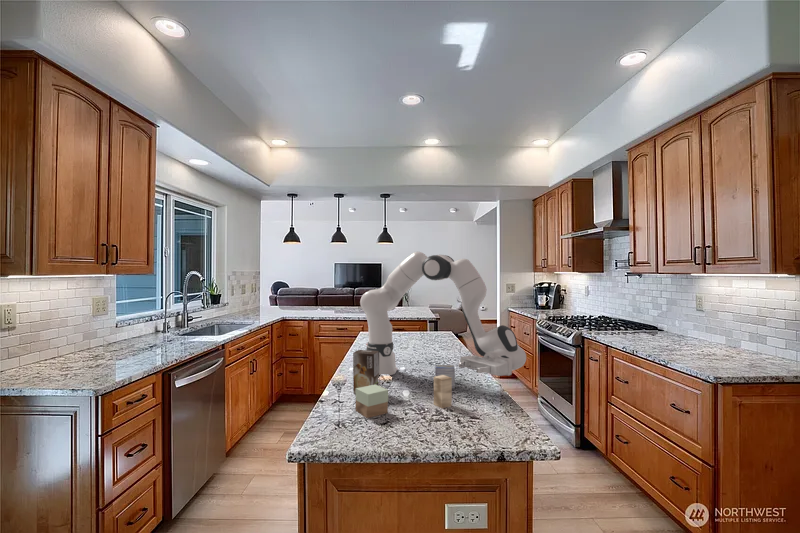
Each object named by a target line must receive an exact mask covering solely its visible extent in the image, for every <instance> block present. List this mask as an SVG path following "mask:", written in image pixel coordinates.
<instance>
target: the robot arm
mask: <svg viewBox="0 0 800 533" xmlns="http://www.w3.org/2000/svg"><path fill="white" fill-rule="evenodd" d="M423 276H425V277H426V278H427V279H428V280H431V281H441V280H442V281H443V280H445V279H449V280H451V281H452V282H453V283H454V285H455V286H456V289H457V290H458V293H459V295H460V298H461V305H460V306H461V310H462V314H463V316H464V318H465V322H466V324H467V326H468V329H469V332H470V334H471V337H472V339H473V344H474V348H475V351H476V352H477V353H478V355H466V356H465V355H464V356H460V358H459V360H460V361H459V362H458V364H457V366H458V368H460V369H465V368H467V369H470V370H475V372H476V373H478V374H484V373H485V374H489V375H492V376H493V375H494V376H497V377H502V376H512V374H513V373H512V371H515V370H518V369H521V368H522V367H524V365H525V363H526V362H527V353H526V352H525V350H524V348H522V347H520V345H519V344H518V342H517V341H518V340H517V337H516V334H515V333H514V331H513V330H512V329H511V328H510V327H509V326H507V325H498V326H497V327H495V328H492V329H490V330H489V331H486V330H485V328H484V326H483V324H482V321H481V318H480V317H479V308H480V306H481V305H482V302H483V301H484V300H485V297H486V296H487V295H486V294H487V286H486V284H485V282H484V280H483V278H482V276H481V275H480V273H479V272H478V270H477V269H476V267H475V266H474V265H473V263H472V262H471V261H470V260H469V259H467V258H459V259H457V260H454V259H453V258H452V257H451V256H449V255H446V254H433V255H432V254H431V255H429V256H427V255H426V254H425V253H423V252H422V251H414V252H412V253H411V254H410V255H409V256H407V257H405V259H404V260H402V262H401V261H400V263H399V264H398V265H397V266H396V267H395V268H394V269H393V271H391V273H390V274H388V276H387V279H386V280H385V283H384V284H383V285H382V286H381V287H379V288H377V289H369V290H368V291H366V292H365V293H363V294H362V295H361V298H360V301H359V304H360V309H361V310H362V311H363V312H364V313H365V317H366V320H367V326H368V342H367V343H365V346H366V348H365V349H366V350H370V351H379V375H381V374H389V376H392V375H395V374H396V373H397V371H398V370H399V369H398V367H397V364H396V363H397V361H396V353H395V352H394V351H393V350H394V341H393V324H392V323H391V321H390V318H389V314H388V312H390V311H392V310H393V309H395V308H396V307H397V306H398V305H399V303H400V301H401V300H402V299H403V297H404V295H405V294H406V293H407V292H408V291H409V290H410V289H411V288H412V287H413V286H414V285H415V284H416V283H417V282H418V281H419V280H420V279H421V278H422V277H423ZM479 355H480V356H479Z"/></svg>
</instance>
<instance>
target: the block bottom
mask: <svg viewBox="0 0 800 533" xmlns="http://www.w3.org/2000/svg"><path fill="white" fill-rule="evenodd" d="M388 402H389V401H388ZM388 402H385V403H381V404H377V405H373V406H369V407H368V406H366V405H364V404H362V403H360V402H358V401H356V400H355V412H357V413H358V414H359V415H361V416H363V417H364V418H367V419H368V418H372V417H377V416H381V415H387V414H388V412H389V409H388V408H389V407H388V406H389V403H388Z"/></svg>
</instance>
